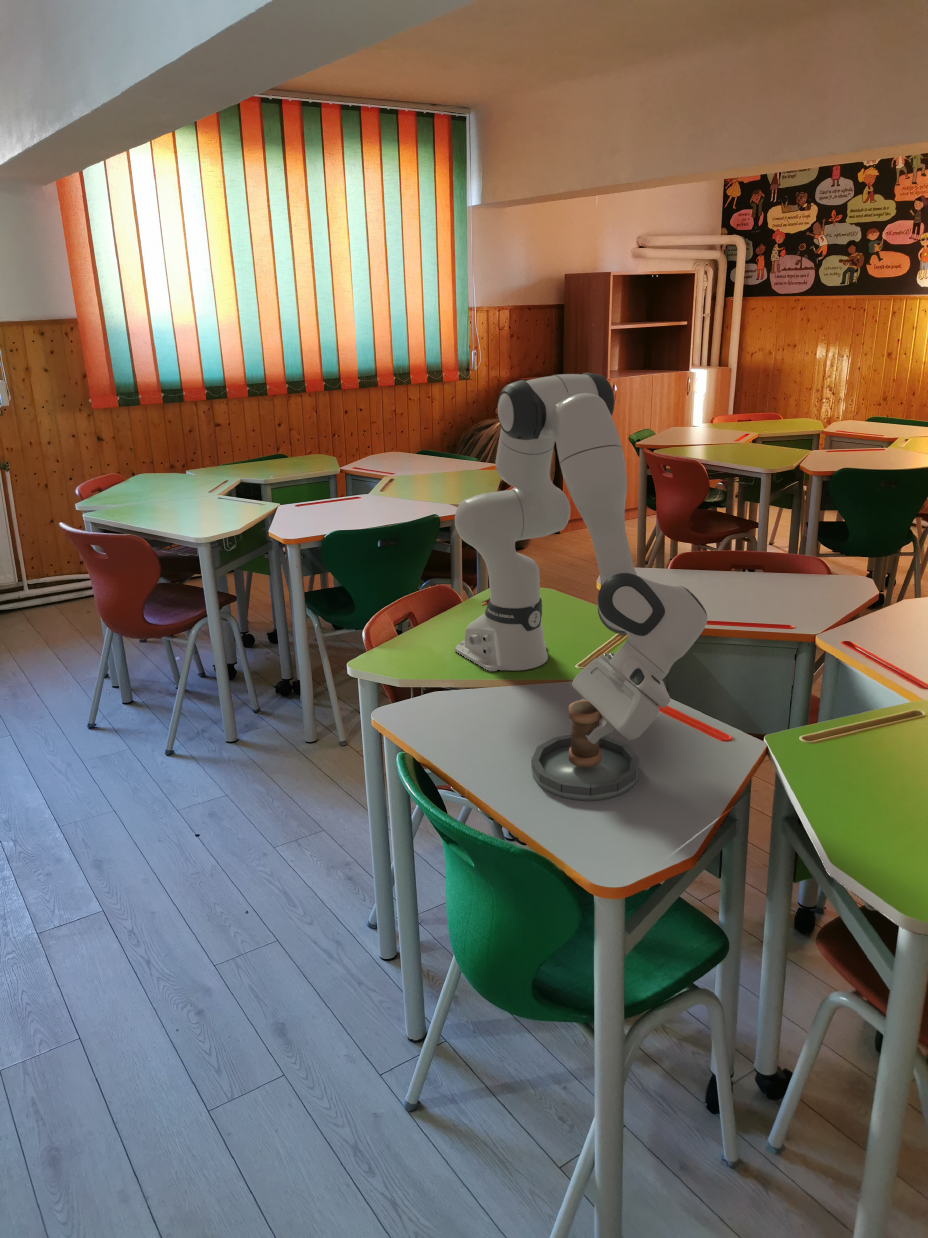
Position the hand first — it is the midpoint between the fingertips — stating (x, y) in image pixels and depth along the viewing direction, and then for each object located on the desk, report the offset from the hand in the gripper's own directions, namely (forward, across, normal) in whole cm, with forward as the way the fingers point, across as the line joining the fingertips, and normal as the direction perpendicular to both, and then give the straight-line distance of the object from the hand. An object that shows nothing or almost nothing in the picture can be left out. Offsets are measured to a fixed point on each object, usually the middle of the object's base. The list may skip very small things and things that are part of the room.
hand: (581, 732), depth 152 cm
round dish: (+5, 0, +6) cm, 8 cm away
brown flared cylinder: (+3, 0, +4) cm, 5 cm away
